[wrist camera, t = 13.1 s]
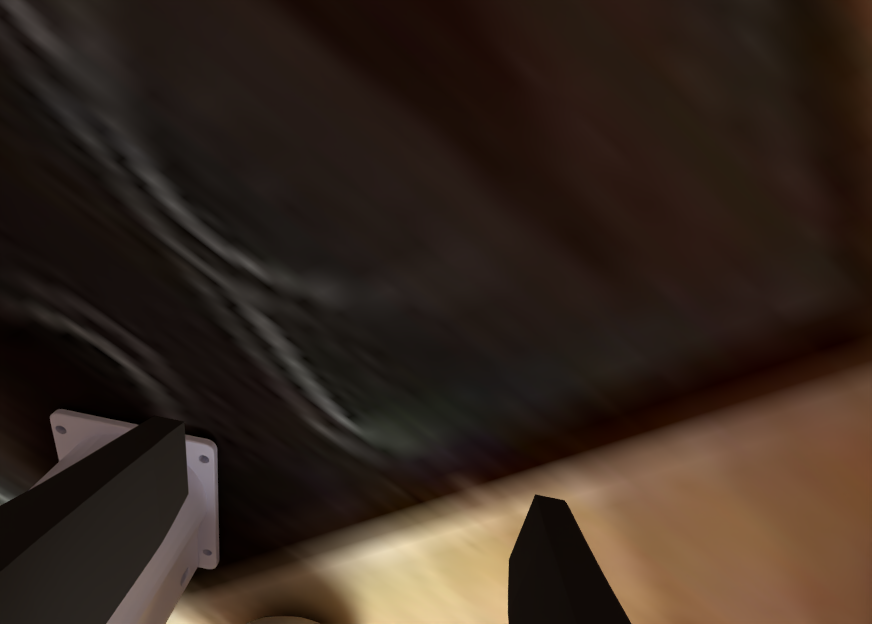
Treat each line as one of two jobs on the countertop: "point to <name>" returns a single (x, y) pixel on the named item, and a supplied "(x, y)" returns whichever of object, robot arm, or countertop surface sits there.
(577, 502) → the countertop surface
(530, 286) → the countertop surface
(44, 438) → the countertop surface
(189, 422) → the countertop surface
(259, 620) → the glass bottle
